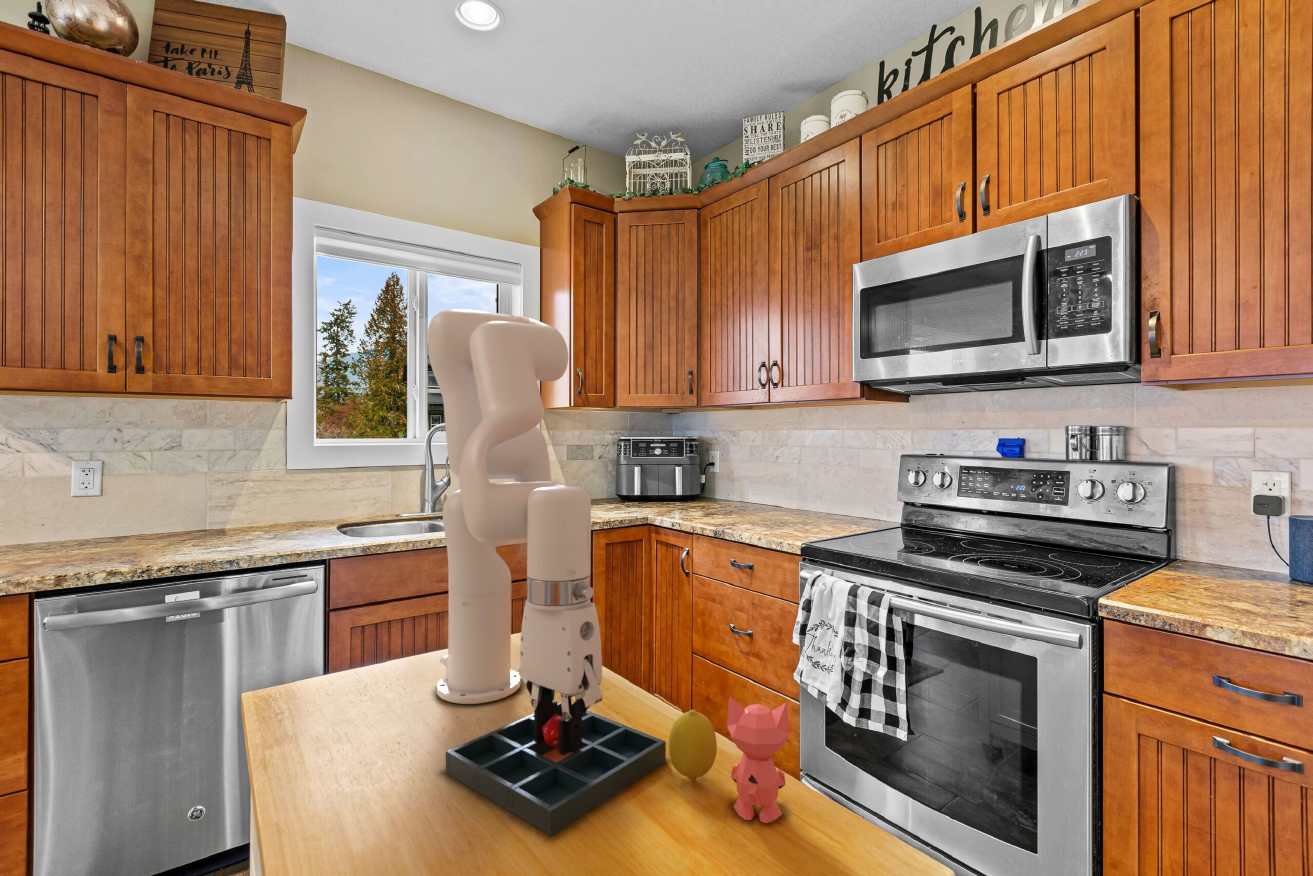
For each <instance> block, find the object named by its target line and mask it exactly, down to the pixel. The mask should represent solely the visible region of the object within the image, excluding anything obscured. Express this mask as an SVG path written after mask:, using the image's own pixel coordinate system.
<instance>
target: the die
mask: <svg viewBox="0 0 1313 876" xmlns="http://www.w3.org/2000/svg"><path fill="white" fill-rule="evenodd" d="M561 719H563V717H562V716H560V715H557V714H555V715H554V716H553V717H551V718H550V719H549V720H548V721H547V722H546V723H545V724H544V725H543V726H542V731H543V735H544V739H545V742H546V743H547V744H548V745H550V746H552V747H555V748H557V749H558V741H559V720H561Z"/></svg>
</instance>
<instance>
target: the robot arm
mask: <svg viewBox="0 0 1313 876" xmlns="http://www.w3.org/2000/svg"><path fill="white" fill-rule="evenodd" d="M427 352H428V353H427V354H428V358H429V362H430V367H431V370H432V372H433V376H434V377H435V381H436V383H437V386H438V389H439V391H440V394H441V397H442V401H443V402H442V403H443V413H444V426H445V438H446V439H445V440H446V449H447V459H448V463H449V467H450V470H451V472H452V473H453V475H455V477H457V478H458V487H459V489H458V490H456V491H454V492H452V493H451V494H449V496H448V497H446V499H445V501H444V503H443V506H442V524H443V530H444V536H445V537H444V538H445V543H446V552H447V567H448V569H447V574H448V576H447V577H448V583H447V585H448V586H447V587H448V601H447V602H448V603H447V604H448V605H447V606H448V610H447V611H448V613H447V614H448V615H447V617H448V619H447V623H448V624H447V631H448V632H447V655H443V656H442V657H441V658H440V659H439V664H440V665H442V666H444V667H445V676H443V677H442V678H441V679H439V681H438V682H437V684H436V694H437V696H438V697H439V698H440V699H442V700H444V701H446V702H448V703H454V704H458V705H459V704H461V705H477V704H484V703H485V704H486V703H490V702H491V703H492V702H494V701H498V700H502V699H504V698H507V697H509V696H511V695H512V694H514V693H516V692H517V690H519V688H520V687H521V681H522V682H523V684H524V685H525V686H526V689H527V691H528V693H529V695H530V706H531V708H533V709H534V710H533V711H534V712H533V713H534V741H535V742H536V743H538V744H539V743H541V742H544V741H545V739H544V735H543V731H542V726H543V725H544V724H545V723H546V722H547V721H548V720H549V719H550V718H551V717H553V716H554V715H555V714H557V715H558V706H557V703H558V702H557V701H556V700H555V694H556V693H559V694H560V702H561V706H562V716H563V719H561V720H559V741H558V751H559V754H561V755H565V754H567V753H569V752H571V751H573V750H575V749H577V748H579V747H580V746H581V744H582V715H583V714H585V713H586V710H587V711H588V710H589V709H590V708H591V706H593V705H596V704H599V703H600V702H602V701H603V699H604V698H603V694H602V690H601V688H600V685H601V683H602V682H603V681H602V679H603V656H602V654H603V653H602V639H601V638H602V637H601V629H600V622H599V616H598V612H597V607H596V603H594V602H592V601H591V599H592V598H593V596H594V592H595V590H594V588H593V587H591V583H592V582H591V573H592V572H591V568H592V567H591V566H592V565H591V564H592V563H591V562H592V561H591V560H592V558H591V556H592V554H591V553H592V540H591V539H592V499H591V495H590V493H589V492H588V491H587V489H585V488H582V487H579V486H569V485H567V484H565V483H564V482H560V481H552V474H551V473H552V470H551V463H550V454H549V449H548V443H547V440H546V438H545V435H544V434H543V432H542V431H541V429H540V428H539V427H538V426H539V424H540V423H541V422H542V420H543V418H544V415H545V407H544V404H543V399H542V396H541V392H540V388H539V387H540V386H539V384H538V381H539V382H555V381H559V380H560V379H561V378H562V377H563V376H564V375H565V373H566V371H567V369H568V364H569V349H568V346H567V343H566V340H565V338H564V337H563V335H562V333H561V332H560V331H559V330H558V328H556V327H553V326H552V325H549V324H547V323H545V322H542V321H540V320H537V319H534V318H531V317H527V316H520V315H513V314H507V313H506V314H505V313H499V312H490V311H484V310H476V309H466V308H452V309H444V310H442V311H438V312H437V313H435V315H434V316H433V317H431V320H430V322H429V324H428V329H427ZM490 480H514V481H509V482H506V481H505V482H491V481H490ZM522 544H527V545H526V599H525V602H524V608H523V615H522V620H521V621H522V622H521V630H520V644H519V645H520V646H519V647H520V648H519V662H520V663H519V665H520V666H519V668H518V672H517V671H516V670H513V669H512V574H511V571H510V567H509V566H508V565H507V563H506V562H505V560H504V559H503V558H502V557H501V555H499V554H498V552H497V550H496V549H497V548H499V547H504V546H510V545H522ZM573 697H574V700H575V701H573V703H572V698H573ZM554 700H555V701H554Z"/></svg>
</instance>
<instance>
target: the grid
mask: <svg viewBox="0 0 1313 876" xmlns="http://www.w3.org/2000/svg"><path fill="white" fill-rule="evenodd" d="M557 706H558V715H560V716H562V706H561V701H559V702H557ZM562 717H563V716H562ZM666 753H667V741H666V740H663V739H661V738H658V737H656V736H654V735H650V734H648V733H647V732H646V733H645V732H643V731H640V730H638V729H635V728H633V727H630V726H628V725H625V724H623V723H620V722H618V721H615V720H613V719H611V718H608V717H605V716H603V715H600V714H597V713H594V712H593V711H590V710H588V709H587V710H586V713H585V714H583V715H582V744H581V746H580V747H579V748H577V749H575V750H573V751H571V752H569V753H567V754H565V755H561V754H559V751H558V749H557V748H555V747H552V746H550V745H548V744H547V743H546V742H545V741H544V742H541V743H539V744H538V743H536V742H535V741H534V712H533V713H531V714H528V715H526V716H524V717H522V718H520V719H518V720H515V721H512V722H511V723H508V724H505V725H503V726H501V727H498V728H497V729H494V730H492V731H490V732H486V733H485V734H482V735H480V736H478V737H476V738H473V739H470V740H469V741H466V742H464V743H462V744H460V745H457V746H455V747H453V748H451V749H448V750H446V751H445V769H444V770H445V771H444V772H445V773H446V774H447V775H449V776H450V777H452V778H454V779H455V780H457V781H458V782H460V783H461V784H464V785H465V786H466V787H469V788H470V789H472V790H473V791H475V792H477V793H478V794H480V795H481V796H482V797H485V798H486V799H488V800H490V801H491V802H493V803H494V804H496V805H498V806H499V807H501V808H502V809H504V810H506V811H507V812H509V813H510V814H513V815H514V816H516V817H517V818H519V819H521V820H523V821H525V822H526V823H527V824H529V825H531V826H532V827H534V828H535V829H537V830H539V831H541V832H542V833H544V834H546V835H547V836H549V837H552V836H554V835H556V834H557V833H559V832H561V831H562V830H563V829H565V828H566V827H568V826H569V825H571V824H572V823H574V822H576V821H577V820H579V819H580V818H582V817H583V816H585V815H586V814H588V813H589V812H591V811H592V810H594V809H596V808H597V807H599V806H600V805H601V804H603V803H605V802H606V801H608V800H610V799H611V798H612V797H614V796H615V795H617V794H619V793H620V792H621V791H623V790H625V789H626V788H628V787H629V786H630V785H632V784H634V783H635V782H637V781H638V780H640V779H642V778H644V776H646V775H648V774H649V773H651V772H652V771H654V770H655V769H657V768H659V767H660V766H662V765H663V764H664V763H666V762H667V754H666Z"/></svg>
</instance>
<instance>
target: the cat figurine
mask: <svg viewBox="0 0 1313 876" xmlns="http://www.w3.org/2000/svg"><path fill="white" fill-rule="evenodd" d="M789 725H790V724H789V714H788V703H787V701H786V702H784V703H783V704H781V705H779V706H777V707H775V708H774V709H772V710H771V709H770V708H769V707H768V706H767V705H763V704H760V703H756V704H749V705H747V706H746V707H744V706H743V705H742V704H740V703H739V702H738V701H736V699H734V698H733V697H732V696H730V695H729V697H728V709H727V721H726V728H727V731H728V732H729V733H728V734H727V736H730V738H731V740H732V742H733V743H734V744H735V746H736V748H737V749H738V750H739V751H741V753H742V756H741V759H740V761H739V762H737V763H736V764H734V765H733V766H732V770H731V775H730V778H731V779H732V780H733V781H734V782H735V783H736V792H737V795H738V798H737V799H736V800H735V803H733V808H734V810H735V812H736V813H737V814H738V816H739V817H740V818H742V819H743V820H745V821H752V820H753V818H754V816H755V815H756V814H755V810H754V807H753V805H754V806H762V808H761V810H760V812H759V814H758V816H759V821H760V822H761V823H764V824H769V823H772V822H775V821H776V820H777V819H779V817H781V816H782V815H783V812H782V809H781V807H780V805H779V803H778V802H776V800H777V798H778V797H779V790H780V789H782V788H783V787H784V786H786V777H785V773H784V771H782V770H781V769H780V768H778V769H777V768H776V765H775V762H774V759H773V755H775V754H776V753H777V752H778V751H780V749H782V748H783V747H784V745H785V743H786V741H787V742H789V743H791V741H790V740H789V739H788V737H789V735H790V732H791V731H792V730H790V726H789Z"/></svg>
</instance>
